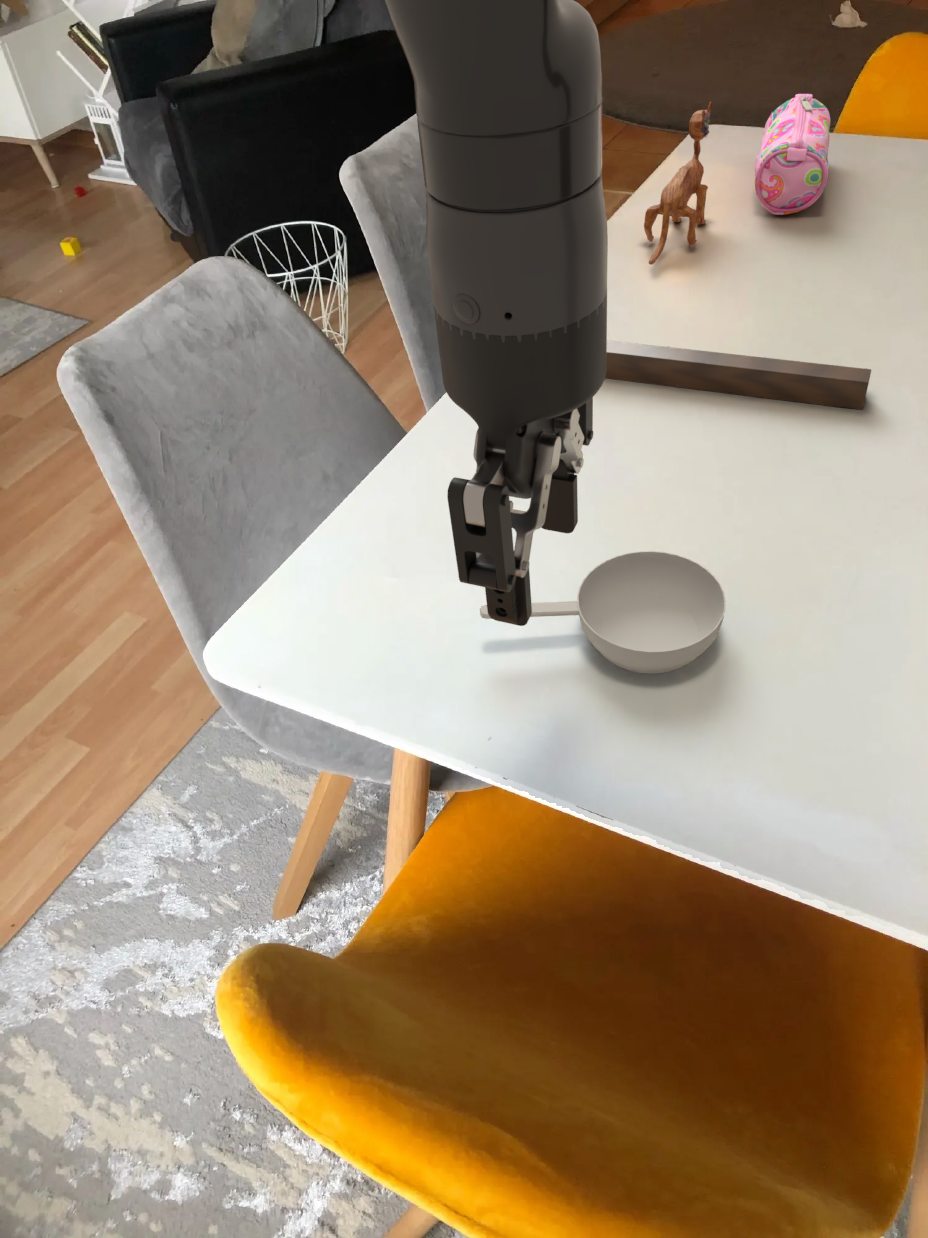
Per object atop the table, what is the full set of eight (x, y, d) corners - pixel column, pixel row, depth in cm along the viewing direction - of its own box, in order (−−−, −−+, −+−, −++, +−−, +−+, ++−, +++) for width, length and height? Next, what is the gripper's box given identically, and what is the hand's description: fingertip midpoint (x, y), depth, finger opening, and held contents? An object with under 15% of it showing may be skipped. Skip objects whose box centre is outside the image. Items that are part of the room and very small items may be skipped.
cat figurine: (676, 276, 114) (684, 156, 104) (623, 270, 116) (626, 151, 107) (720, 215, 125) (731, 101, 115) (671, 210, 127) (677, 98, 118)
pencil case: (760, 156, 137) (768, 87, 131) (828, 157, 135) (839, 86, 129) (746, 218, 123) (754, 144, 117) (821, 220, 121) (833, 145, 114)
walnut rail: (865, 396, 93) (871, 369, 90) (862, 410, 91) (868, 382, 89) (568, 361, 102) (567, 335, 100) (560, 372, 101) (560, 346, 99)
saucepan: (735, 678, 69) (741, 641, 66) (486, 698, 70) (482, 663, 67) (705, 578, 77) (709, 541, 74) (481, 597, 78) (477, 562, 75)
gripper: (547, 383, 35) (558, 679, 47) (648, 222, 44) (636, 504, 56) (367, 359, 38) (420, 646, 49) (497, 212, 47) (516, 483, 58)
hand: (535, 570), depth 53 cm, fingers open, 7 cm apart
